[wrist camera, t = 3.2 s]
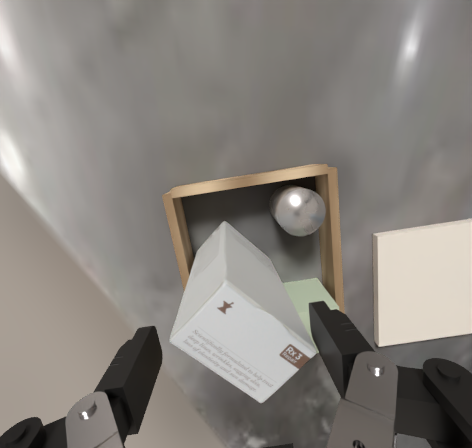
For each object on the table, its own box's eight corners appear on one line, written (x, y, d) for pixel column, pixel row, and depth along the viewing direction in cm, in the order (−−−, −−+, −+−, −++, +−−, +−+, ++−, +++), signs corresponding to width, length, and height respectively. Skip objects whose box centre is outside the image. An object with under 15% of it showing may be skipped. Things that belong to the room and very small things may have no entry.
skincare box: (195, 251, 23) (156, 346, 11) (226, 216, 22) (220, 276, 10) (244, 290, 24) (257, 413, 12) (275, 257, 23) (321, 355, 11)
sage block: (316, 277, 24) (339, 306, 19) (319, 313, 24) (341, 349, 20) (276, 283, 24) (288, 314, 19) (281, 318, 25) (293, 356, 20)
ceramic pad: (501, 214, 22) (510, 215, 22) (488, 324, 25) (496, 329, 24) (372, 233, 22) (377, 236, 22) (374, 341, 25) (378, 346, 25)
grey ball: (306, 181, 21) (324, 185, 17) (310, 220, 22) (327, 232, 18) (266, 188, 21) (275, 193, 17) (271, 226, 22) (280, 239, 18)
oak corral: (321, 163, 21) (336, 162, 18) (332, 324, 25) (346, 345, 22) (170, 187, 21) (161, 190, 18) (205, 343, 25) (201, 366, 22)
